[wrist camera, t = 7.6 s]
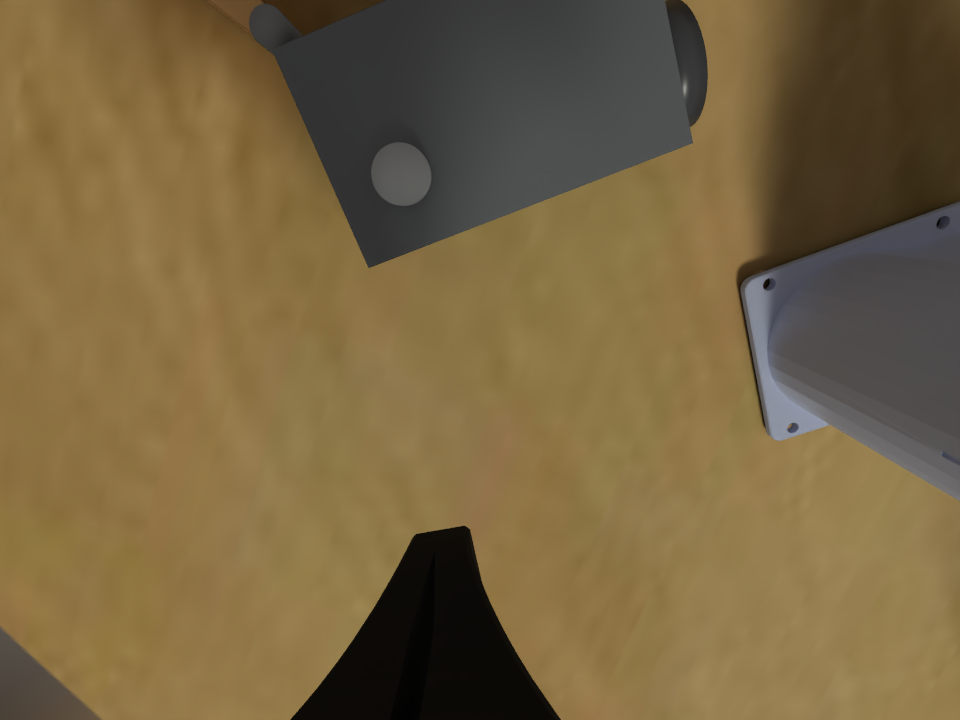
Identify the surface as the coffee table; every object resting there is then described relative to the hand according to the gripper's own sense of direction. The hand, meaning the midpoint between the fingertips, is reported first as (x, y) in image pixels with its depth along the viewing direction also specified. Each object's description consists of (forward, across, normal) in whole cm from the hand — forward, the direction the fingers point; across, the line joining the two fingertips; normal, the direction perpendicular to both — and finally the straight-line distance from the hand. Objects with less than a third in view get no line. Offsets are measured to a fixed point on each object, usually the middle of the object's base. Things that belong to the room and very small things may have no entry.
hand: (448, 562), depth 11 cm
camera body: (+10, -3, -11) cm, 15 cm away
